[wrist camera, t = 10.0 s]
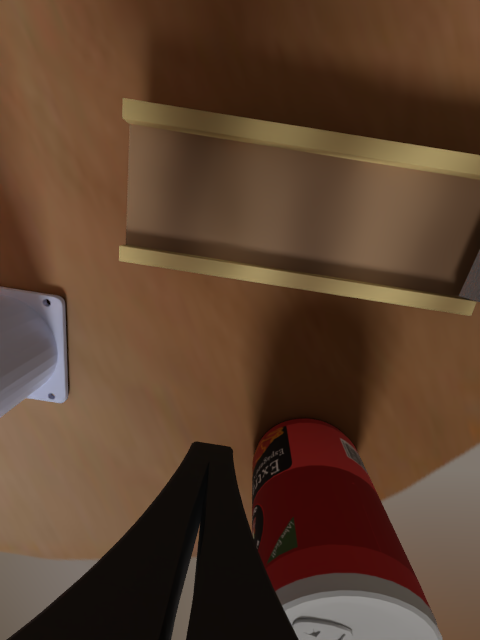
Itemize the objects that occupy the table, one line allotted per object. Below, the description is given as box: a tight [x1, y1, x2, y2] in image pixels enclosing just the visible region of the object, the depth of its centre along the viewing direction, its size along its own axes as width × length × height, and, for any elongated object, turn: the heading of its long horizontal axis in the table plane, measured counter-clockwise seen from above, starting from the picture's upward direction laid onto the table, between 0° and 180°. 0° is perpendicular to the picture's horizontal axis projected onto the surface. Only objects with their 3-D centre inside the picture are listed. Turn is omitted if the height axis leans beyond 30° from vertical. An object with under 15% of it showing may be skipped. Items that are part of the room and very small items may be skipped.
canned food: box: [252, 419, 442, 640], centre depth 18 cm, size 8×8×11 cm
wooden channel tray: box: [119, 98, 480, 316], centre depth 16 cm, size 18×7×4 cm, turn 81°
